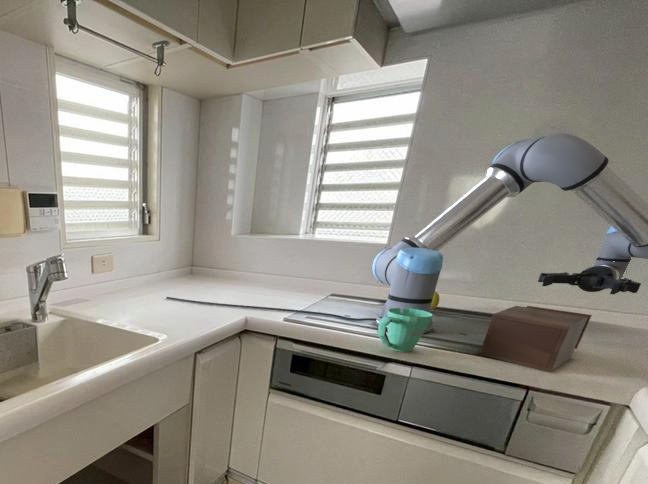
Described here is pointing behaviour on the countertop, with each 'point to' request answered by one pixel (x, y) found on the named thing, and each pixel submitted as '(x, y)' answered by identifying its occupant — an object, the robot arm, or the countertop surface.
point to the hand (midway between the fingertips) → (578, 285)
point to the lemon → (435, 300)
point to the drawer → (569, 313)
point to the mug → (403, 328)
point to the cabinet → (532, 337)
